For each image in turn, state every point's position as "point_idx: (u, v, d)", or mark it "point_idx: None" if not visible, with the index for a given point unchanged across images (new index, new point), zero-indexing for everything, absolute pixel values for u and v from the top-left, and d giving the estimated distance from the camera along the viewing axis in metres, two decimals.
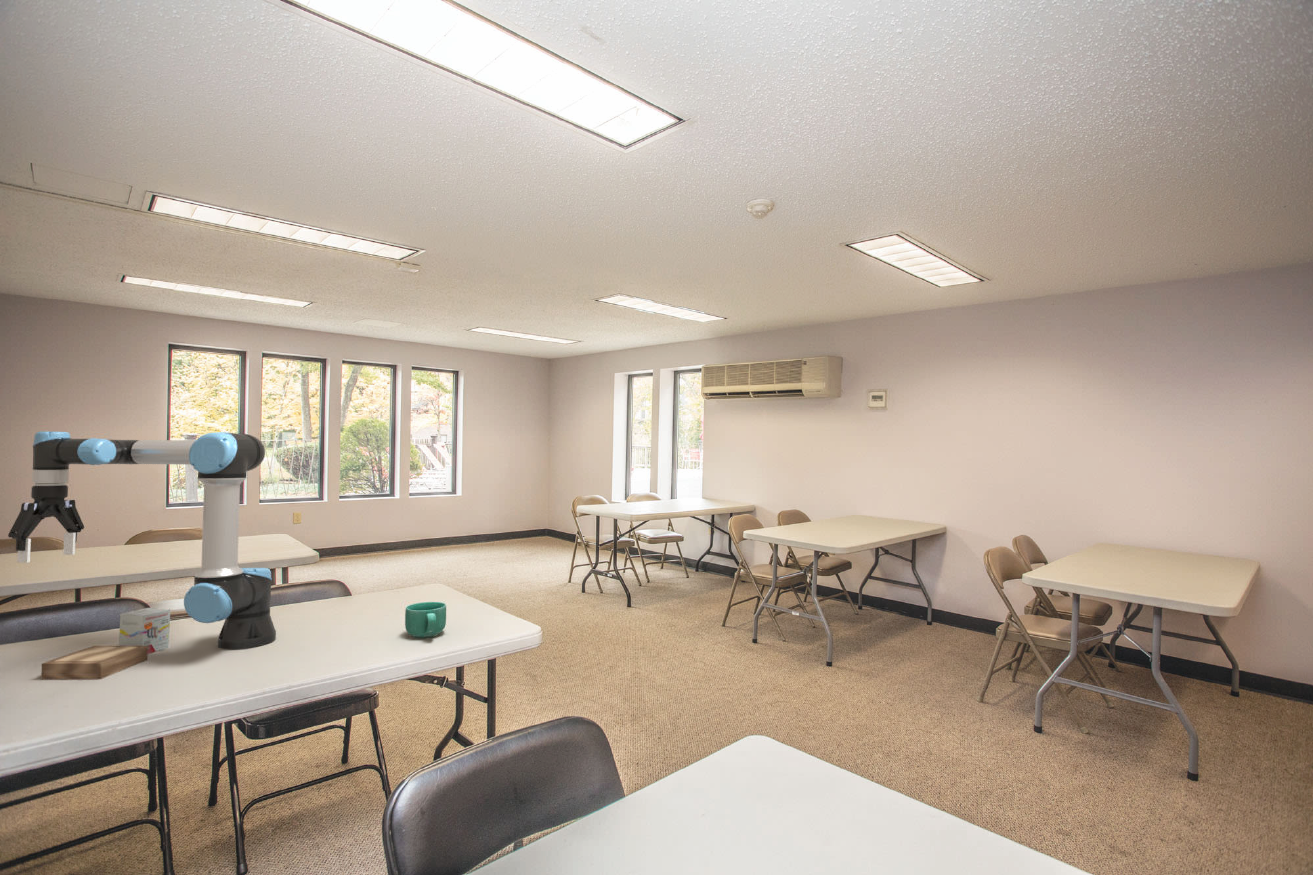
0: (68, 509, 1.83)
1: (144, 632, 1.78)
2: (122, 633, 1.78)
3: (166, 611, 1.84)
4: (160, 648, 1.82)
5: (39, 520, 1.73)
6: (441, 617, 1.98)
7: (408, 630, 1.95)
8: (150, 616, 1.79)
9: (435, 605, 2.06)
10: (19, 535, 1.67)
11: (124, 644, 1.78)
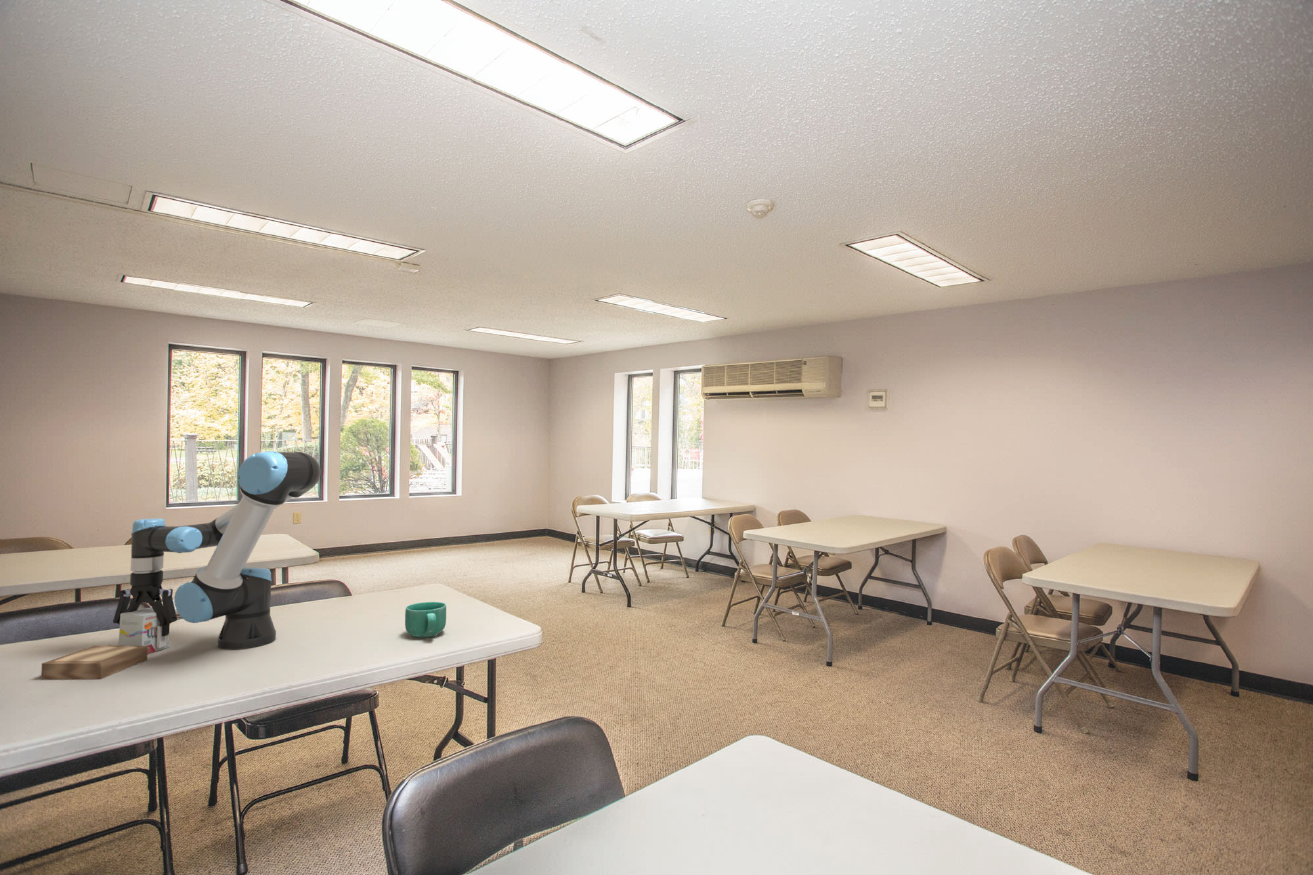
0: None
1: (144, 632, 1.78)
2: (122, 633, 1.78)
3: None
4: (160, 648, 1.82)
5: (131, 607, 1.81)
6: (441, 617, 1.98)
7: (408, 630, 1.95)
8: (150, 615, 1.79)
9: (435, 605, 2.06)
10: (114, 621, 1.81)
11: (124, 644, 1.78)
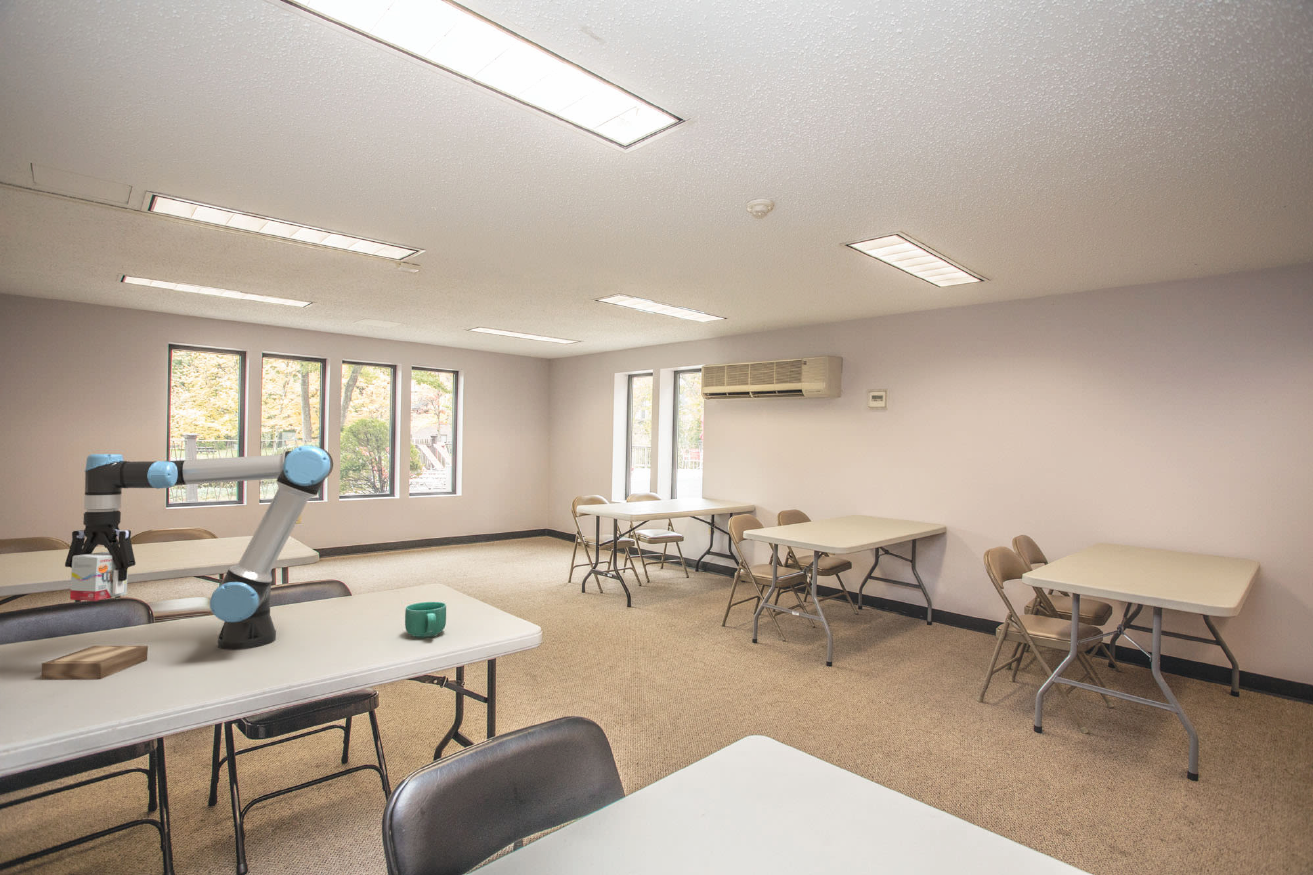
0: None
1: (98, 576, 1.63)
2: (74, 577, 1.63)
3: None
4: (117, 594, 1.67)
5: (85, 549, 1.66)
6: (441, 617, 1.98)
7: (408, 630, 1.95)
8: (105, 558, 1.64)
9: (435, 605, 2.06)
10: (66, 565, 1.65)
11: (76, 589, 1.63)
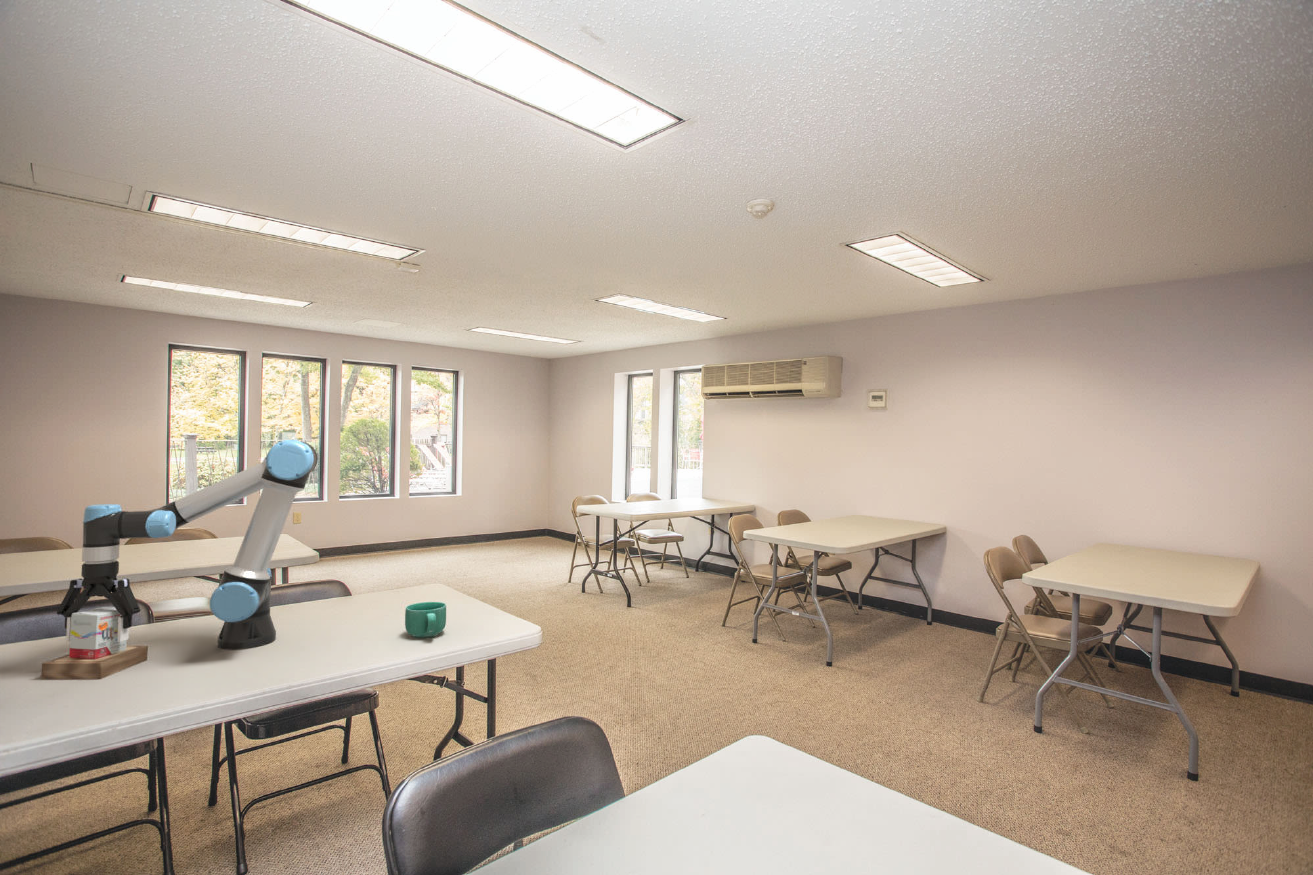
0: None
1: (99, 634, 1.62)
2: (74, 635, 1.62)
3: None
4: (117, 651, 1.67)
5: (80, 599, 1.65)
6: (441, 617, 1.98)
7: (408, 630, 1.95)
8: (105, 615, 1.64)
9: (435, 605, 2.06)
10: (58, 612, 1.65)
11: (75, 646, 1.62)
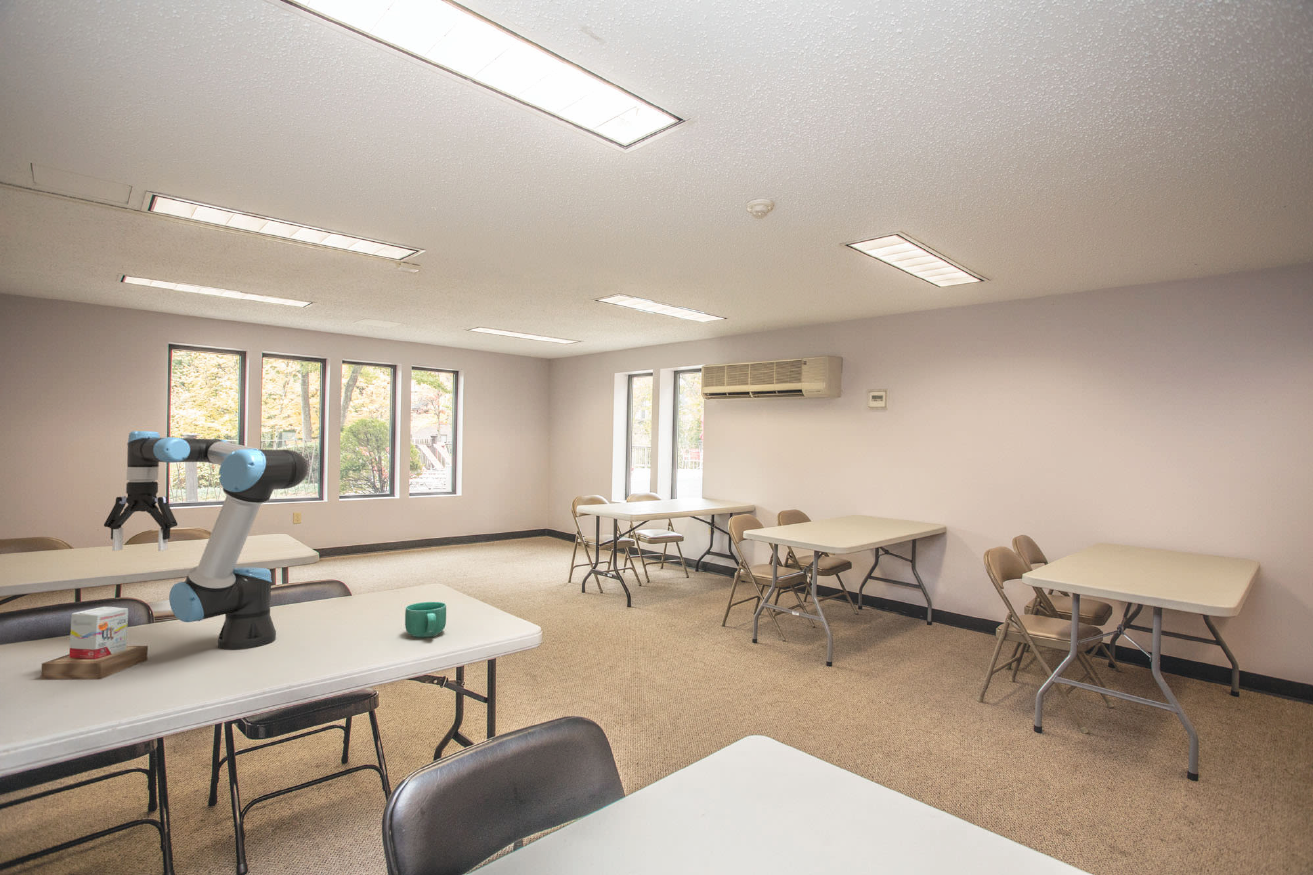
0: None
1: (99, 634, 1.62)
2: (74, 635, 1.62)
3: (123, 610, 1.68)
4: (117, 651, 1.67)
5: (124, 513, 1.88)
6: (441, 617, 1.98)
7: (408, 630, 1.95)
8: (105, 615, 1.64)
9: (435, 605, 2.06)
10: (105, 525, 1.87)
11: (75, 646, 1.62)
